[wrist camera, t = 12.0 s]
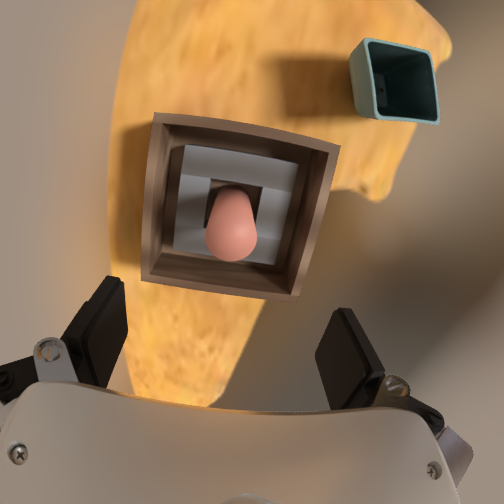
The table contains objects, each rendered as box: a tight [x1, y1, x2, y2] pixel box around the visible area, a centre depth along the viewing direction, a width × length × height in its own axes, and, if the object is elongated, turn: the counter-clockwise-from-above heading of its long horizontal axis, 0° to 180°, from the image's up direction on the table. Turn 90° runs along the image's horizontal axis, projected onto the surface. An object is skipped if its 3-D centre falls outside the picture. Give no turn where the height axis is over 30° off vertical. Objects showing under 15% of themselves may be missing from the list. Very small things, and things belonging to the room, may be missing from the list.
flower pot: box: [349, 38, 440, 125], centre depth 23 cm, size 9×9×9 cm
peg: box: [205, 184, 257, 261], centre depth 26 cm, size 4×4×12 cm
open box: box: [141, 112, 341, 303], centre depth 30 cm, size 18×18×7 cm
